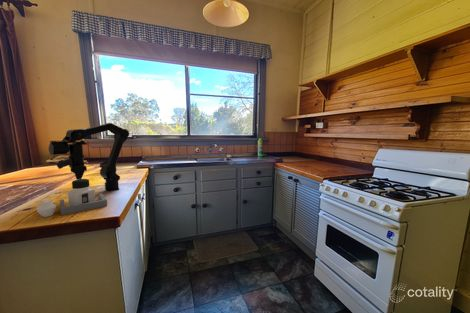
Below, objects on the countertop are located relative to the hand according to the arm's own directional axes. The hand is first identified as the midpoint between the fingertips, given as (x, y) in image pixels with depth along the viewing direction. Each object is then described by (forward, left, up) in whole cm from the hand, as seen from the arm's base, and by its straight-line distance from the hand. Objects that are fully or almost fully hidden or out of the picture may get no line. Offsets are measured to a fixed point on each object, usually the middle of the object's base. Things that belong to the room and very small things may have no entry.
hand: (78, 181), depth 105 cm
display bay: (0, +15, -9) cm, 18 cm away
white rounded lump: (+12, +19, -9) cm, 25 cm away
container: (0, +15, -9) cm, 17 cm away
